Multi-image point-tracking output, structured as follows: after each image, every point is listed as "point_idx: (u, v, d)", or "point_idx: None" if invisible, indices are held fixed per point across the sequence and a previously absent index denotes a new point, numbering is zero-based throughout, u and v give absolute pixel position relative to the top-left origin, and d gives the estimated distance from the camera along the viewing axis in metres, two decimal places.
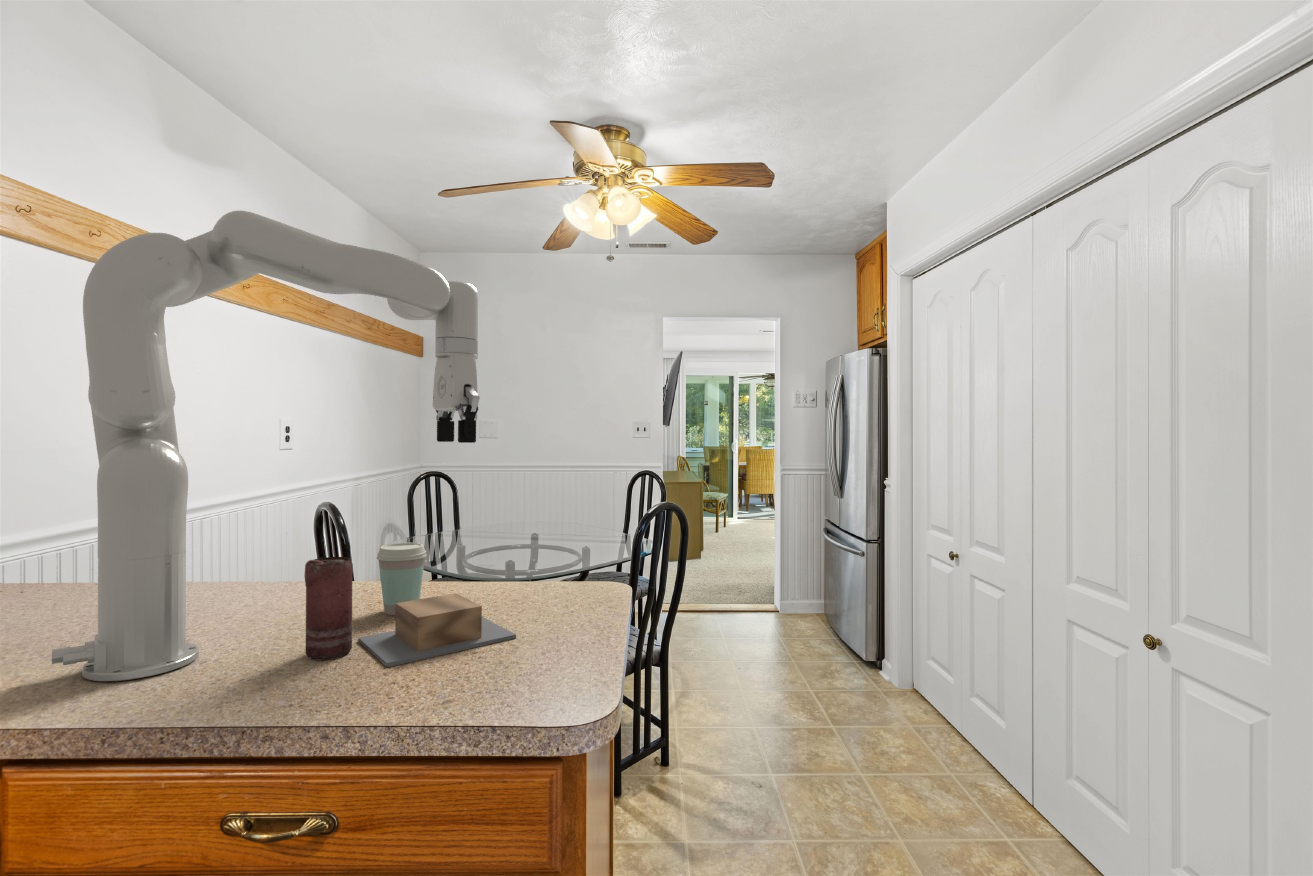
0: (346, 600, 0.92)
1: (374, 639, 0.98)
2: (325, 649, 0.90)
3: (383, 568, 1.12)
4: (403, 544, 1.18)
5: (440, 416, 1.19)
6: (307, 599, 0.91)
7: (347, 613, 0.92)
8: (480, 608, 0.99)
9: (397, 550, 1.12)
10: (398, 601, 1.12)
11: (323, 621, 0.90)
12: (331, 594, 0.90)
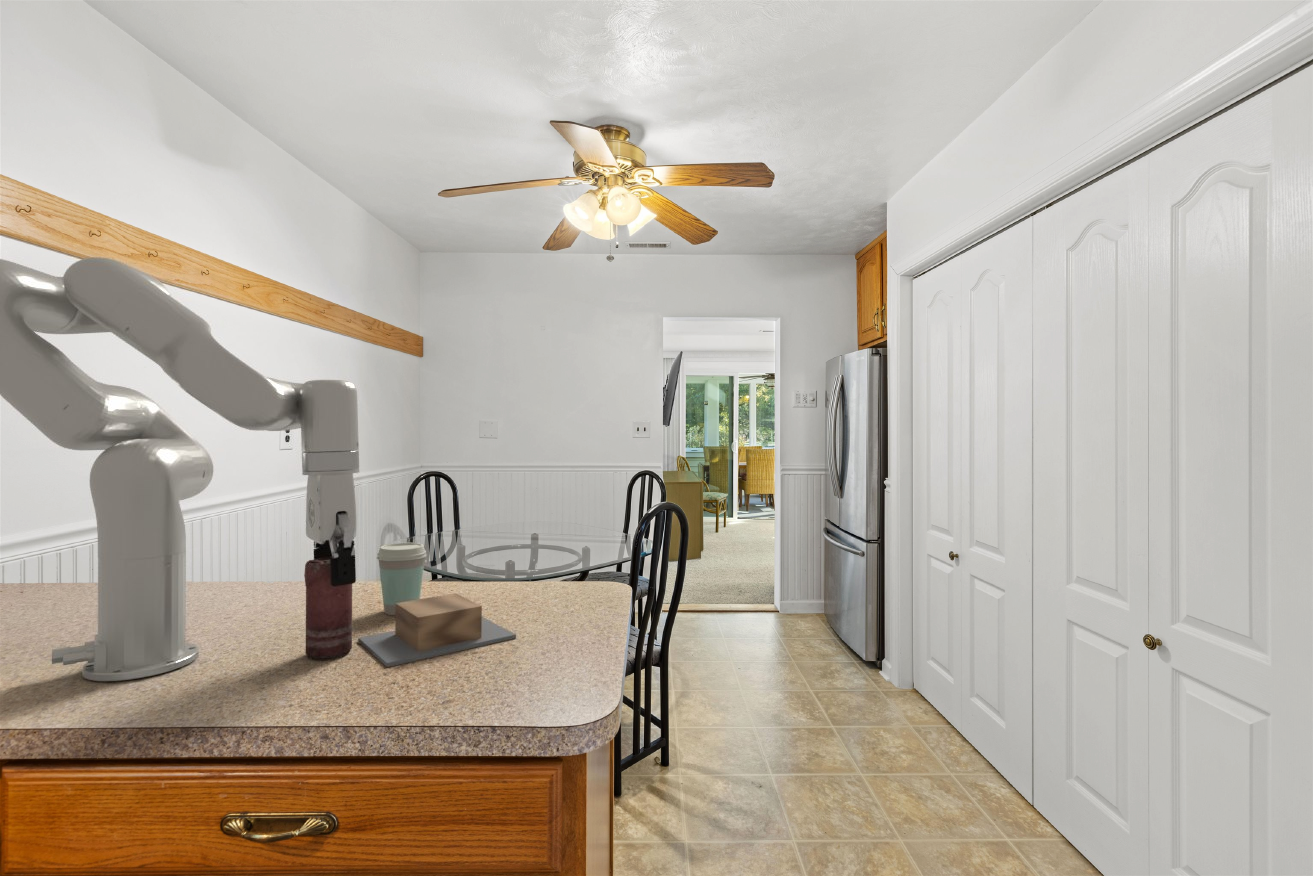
0: (346, 600, 0.92)
1: (374, 639, 0.98)
2: (325, 649, 0.90)
3: (383, 568, 1.12)
4: (403, 544, 1.18)
5: (317, 543, 0.96)
6: (307, 599, 0.91)
7: (347, 613, 0.92)
8: (480, 608, 0.99)
9: (397, 550, 1.12)
10: (398, 601, 1.12)
11: (323, 621, 0.90)
12: (331, 594, 0.90)
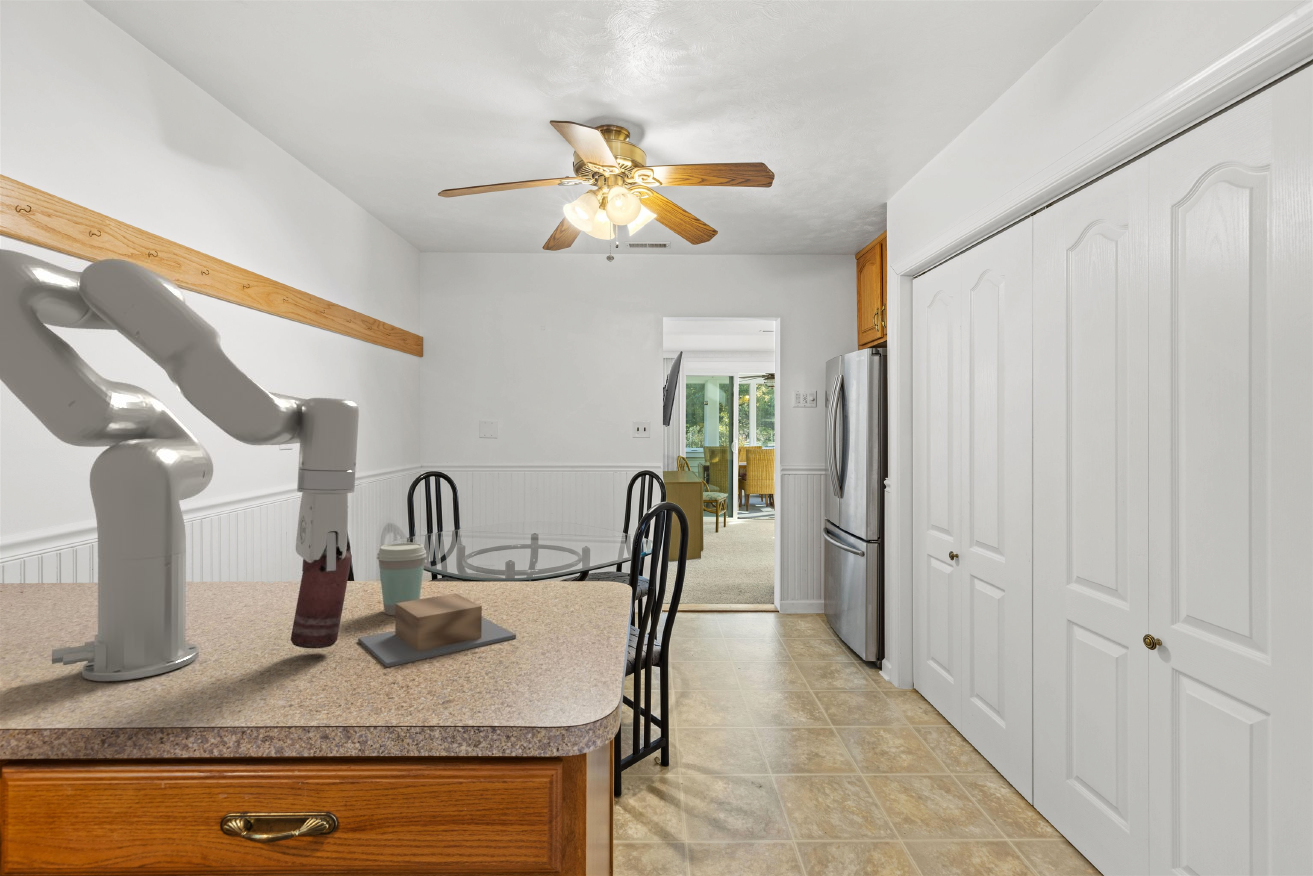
0: (340, 590, 0.92)
1: (374, 639, 0.98)
2: (311, 637, 0.89)
3: (383, 568, 1.12)
4: (403, 544, 1.18)
5: None
6: (302, 584, 0.90)
7: (339, 604, 0.92)
8: (480, 608, 0.99)
9: (397, 550, 1.12)
10: (398, 601, 1.12)
11: (314, 608, 0.89)
12: (326, 582, 0.90)
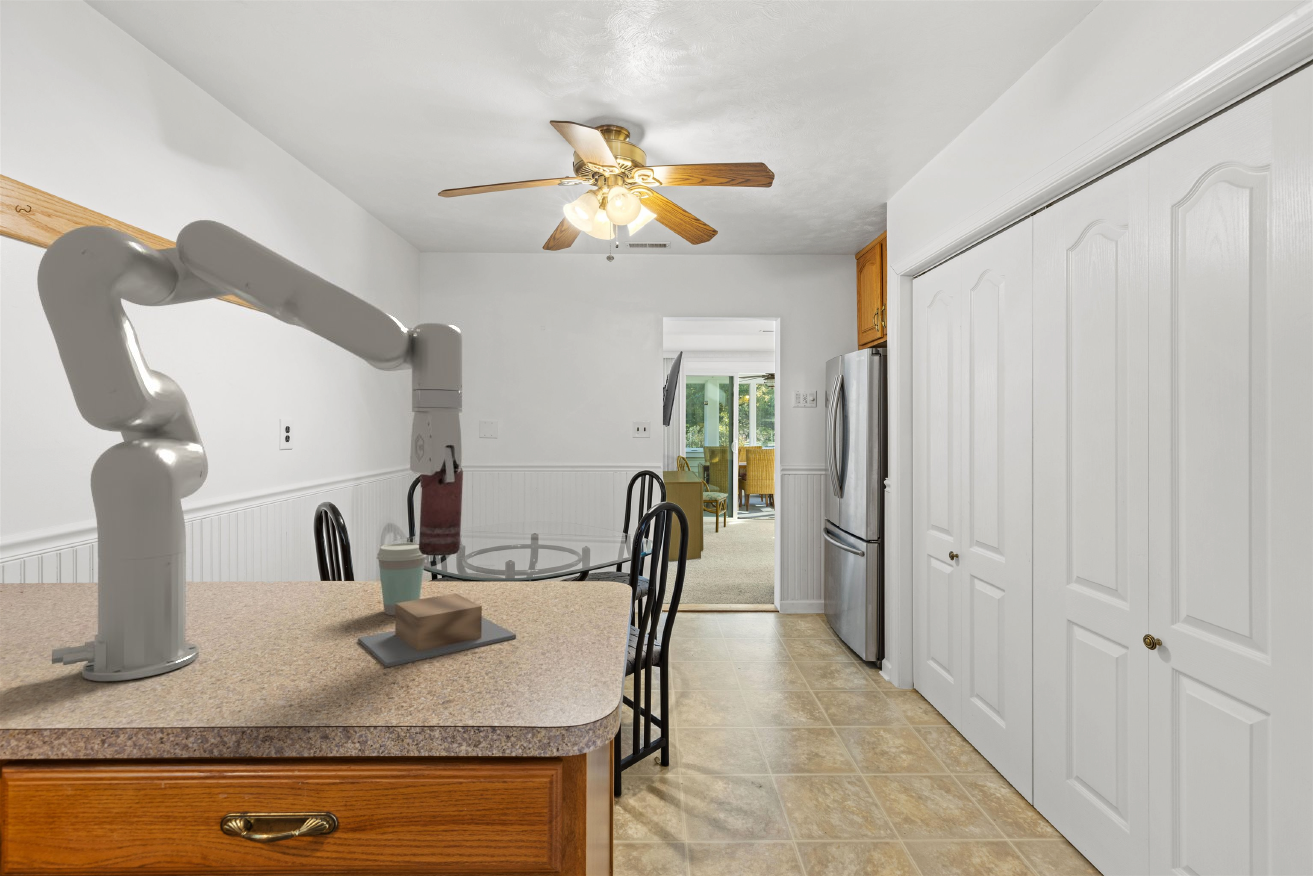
0: (458, 501, 0.99)
1: (374, 639, 0.98)
2: (439, 545, 0.96)
3: (383, 568, 1.12)
4: (403, 544, 1.18)
5: None
6: (423, 498, 0.97)
7: (458, 515, 0.99)
8: (480, 608, 0.99)
9: (397, 550, 1.12)
10: (398, 601, 1.12)
11: (439, 519, 0.97)
12: (446, 494, 0.97)
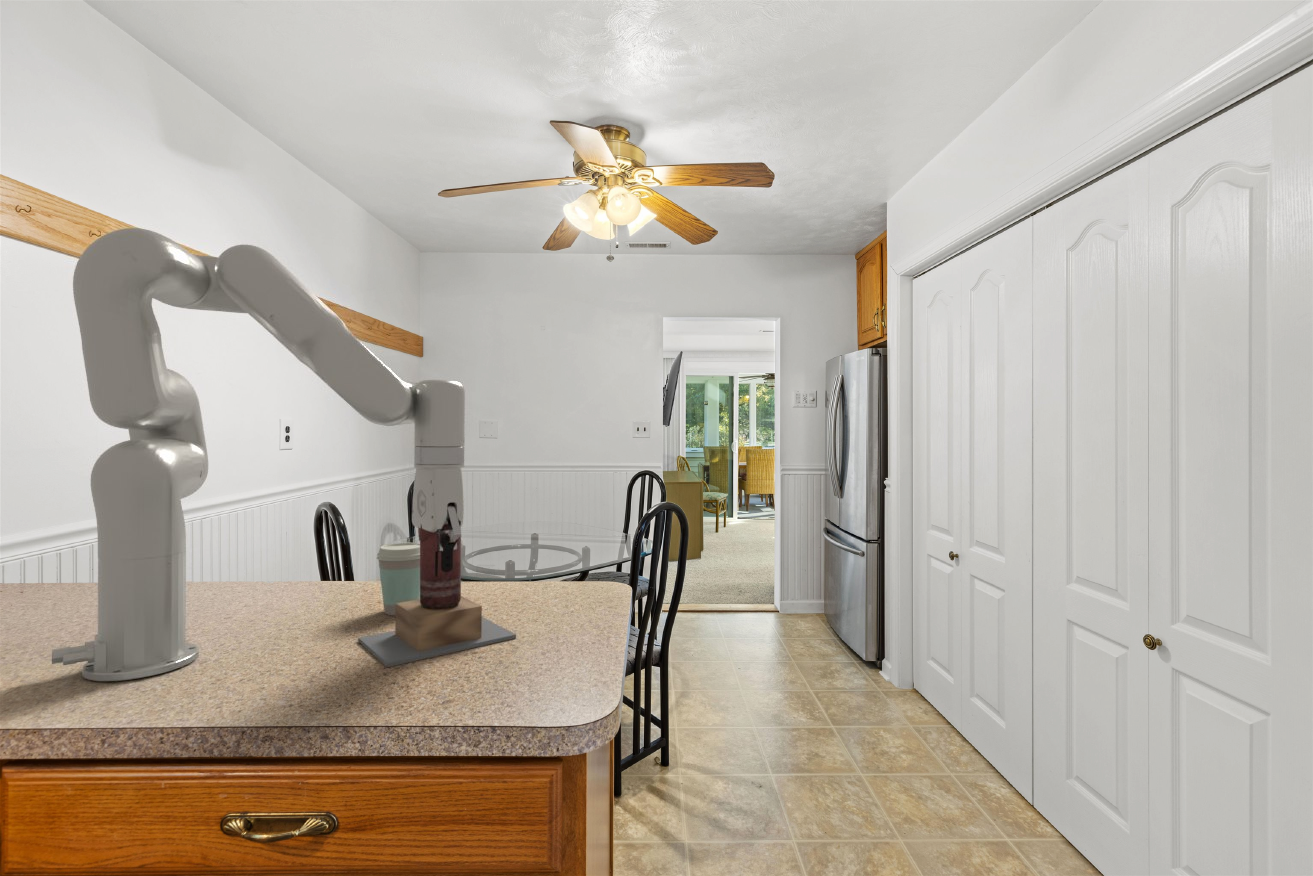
0: (457, 553, 0.99)
1: (374, 639, 0.98)
2: (440, 599, 0.97)
3: (383, 568, 1.12)
4: (403, 544, 1.18)
5: None
6: (422, 552, 0.97)
7: (458, 566, 0.99)
8: (480, 608, 0.99)
9: (397, 550, 1.12)
10: (398, 601, 1.12)
11: (438, 572, 0.97)
12: None
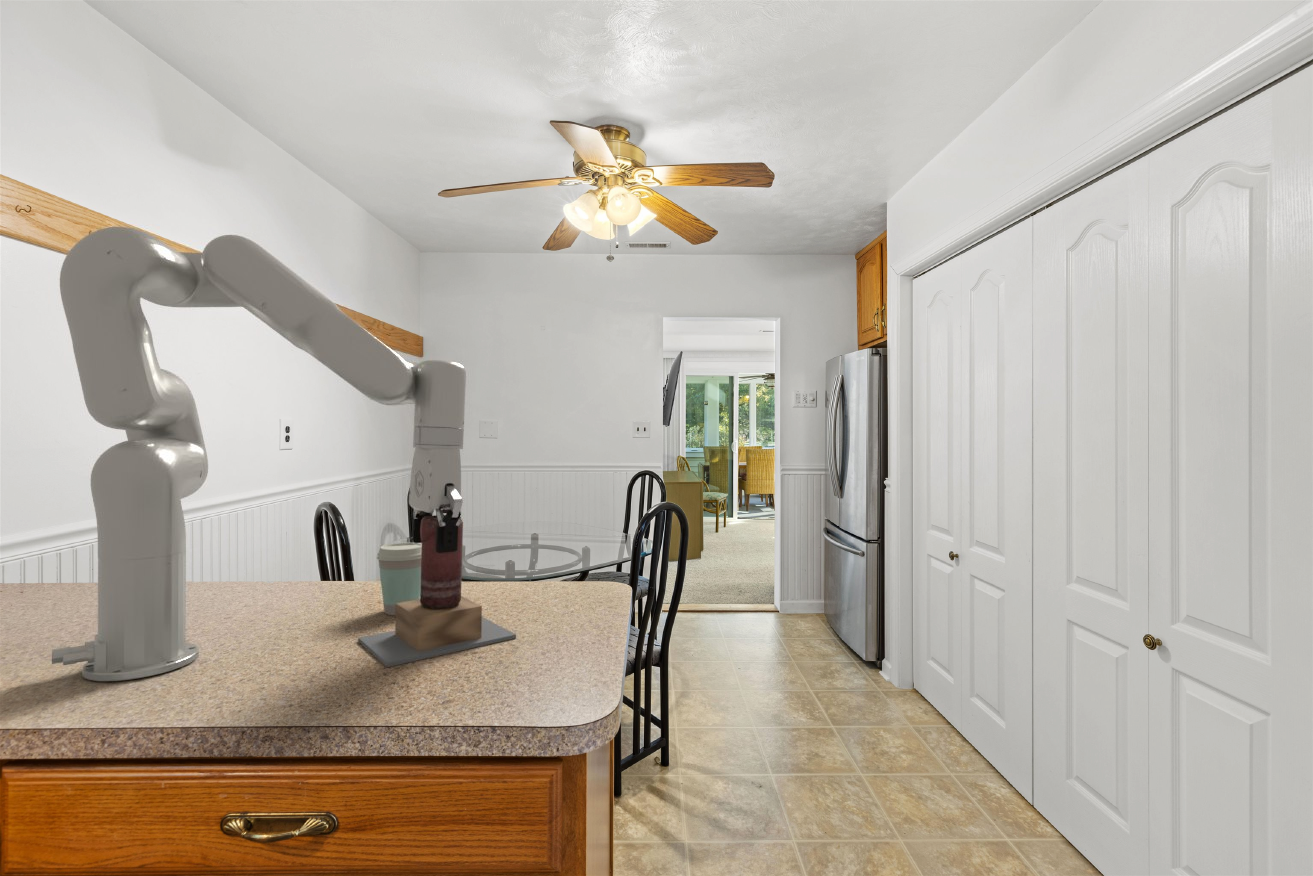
0: (458, 554, 0.99)
1: (374, 639, 0.98)
2: (440, 599, 0.97)
3: (383, 568, 1.12)
4: (403, 544, 1.18)
5: (417, 513, 1.02)
6: (424, 552, 0.97)
7: (459, 567, 0.99)
8: (480, 608, 0.99)
9: (397, 550, 1.12)
10: (398, 601, 1.12)
11: (439, 573, 0.97)
12: None
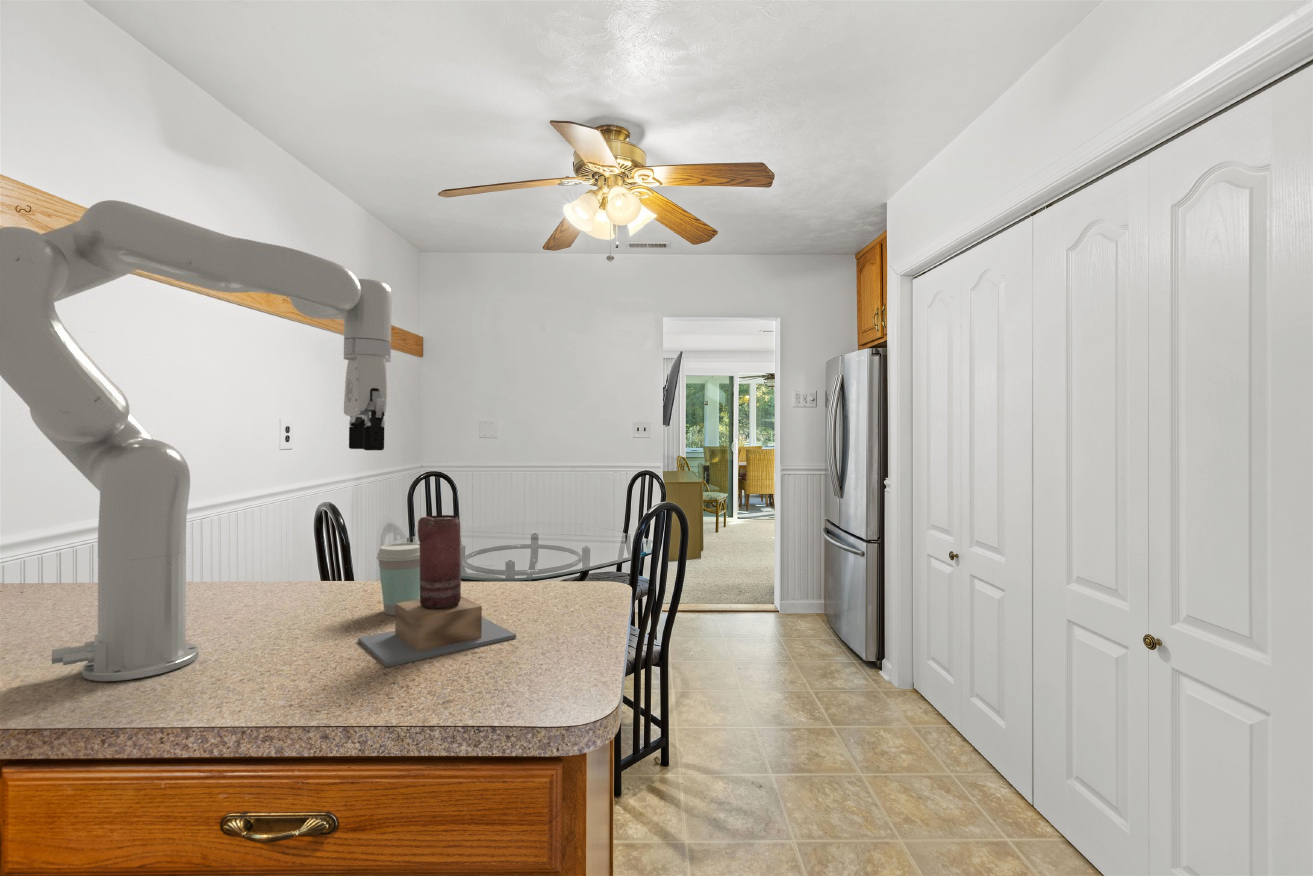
0: (456, 554, 0.99)
1: (374, 639, 0.98)
2: (440, 599, 0.97)
3: (383, 568, 1.12)
4: (403, 544, 1.18)
5: (352, 422, 1.13)
6: (422, 553, 0.97)
7: (458, 566, 0.99)
8: (480, 608, 0.99)
9: (397, 550, 1.12)
10: (398, 601, 1.12)
11: (438, 573, 0.97)
12: (444, 548, 0.97)
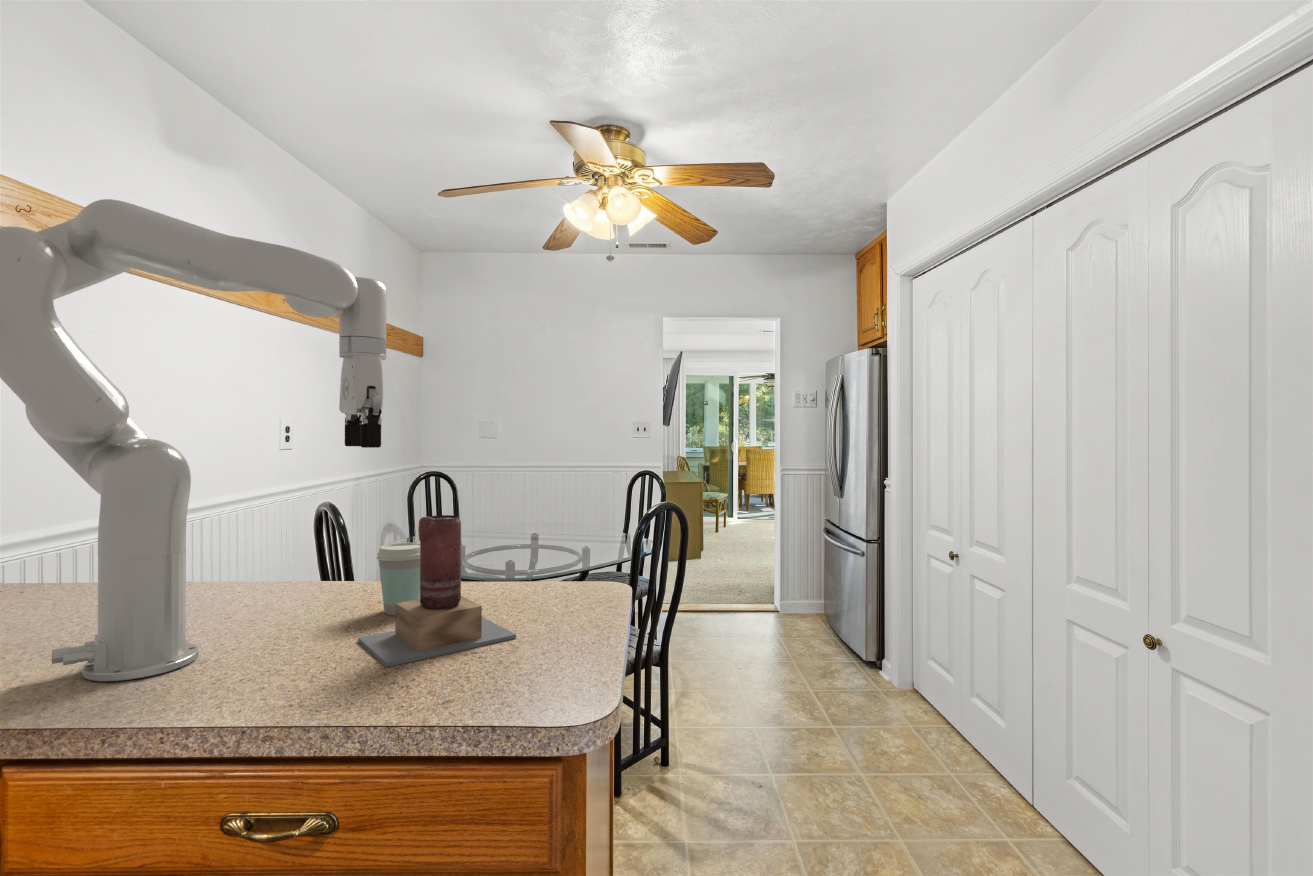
0: (457, 554, 0.99)
1: (374, 639, 0.98)
2: (440, 599, 0.97)
3: (383, 568, 1.12)
4: (403, 544, 1.18)
5: (348, 419, 1.13)
6: (422, 552, 0.97)
7: (458, 566, 0.99)
8: (480, 608, 0.99)
9: (397, 550, 1.12)
10: (398, 601, 1.12)
11: (438, 573, 0.97)
12: (445, 547, 0.97)
